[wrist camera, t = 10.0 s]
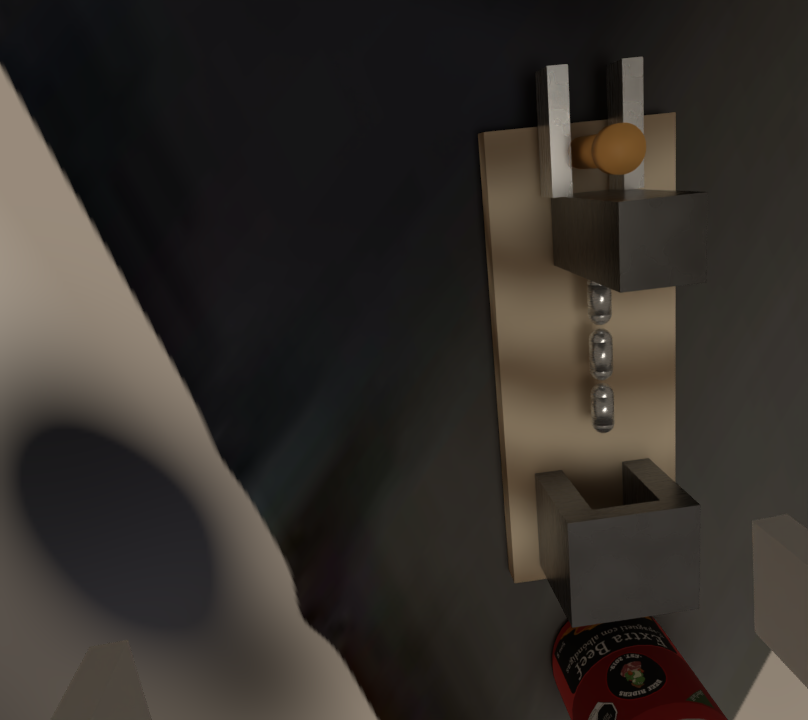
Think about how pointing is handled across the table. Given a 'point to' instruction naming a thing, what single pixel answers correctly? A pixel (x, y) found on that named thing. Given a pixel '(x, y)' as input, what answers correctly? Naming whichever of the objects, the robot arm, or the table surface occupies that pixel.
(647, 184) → the rail board
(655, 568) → the block
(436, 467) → the table surface
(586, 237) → the two-pronged fork block
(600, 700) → the canned food
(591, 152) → the keeper post
